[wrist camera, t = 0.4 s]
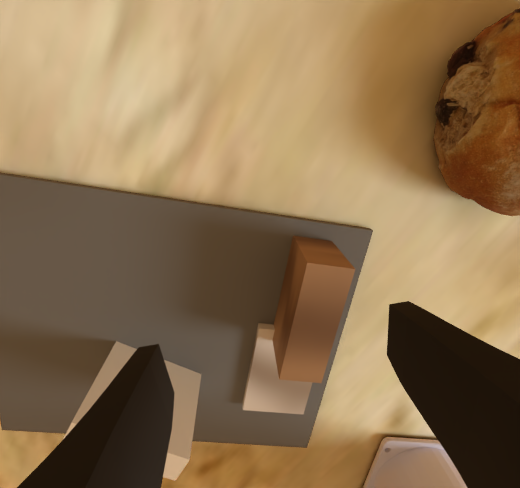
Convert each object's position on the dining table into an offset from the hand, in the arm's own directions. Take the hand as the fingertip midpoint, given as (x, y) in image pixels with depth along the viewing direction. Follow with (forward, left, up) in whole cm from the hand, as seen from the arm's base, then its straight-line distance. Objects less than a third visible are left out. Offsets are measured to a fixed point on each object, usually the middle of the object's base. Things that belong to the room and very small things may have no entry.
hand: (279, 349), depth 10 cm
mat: (-7, +4, -10) cm, 13 cm away
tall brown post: (-6, -3, -10) cm, 12 cm away
